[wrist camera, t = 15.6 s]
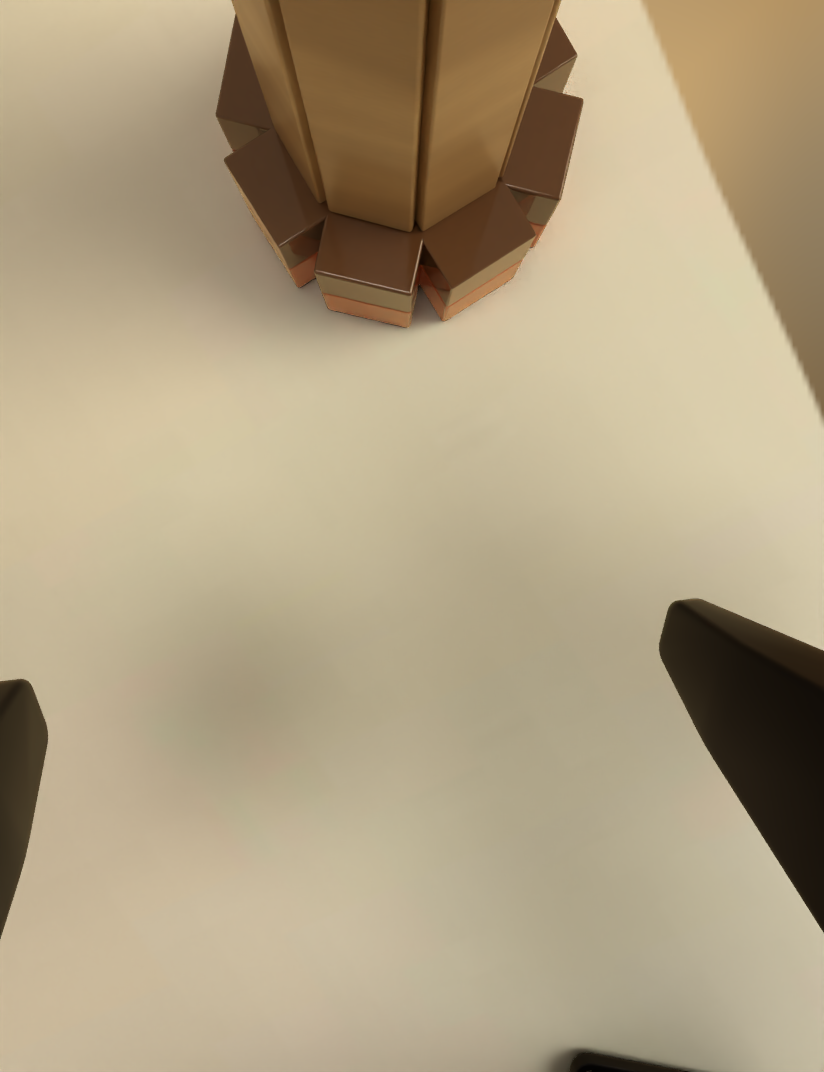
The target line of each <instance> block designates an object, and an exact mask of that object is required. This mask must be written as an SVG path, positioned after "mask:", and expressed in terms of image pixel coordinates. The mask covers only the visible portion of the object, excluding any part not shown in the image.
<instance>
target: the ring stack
mask: <svg viewBox="0 0 824 1072" xmlns="http://www.w3.org/2000/svg"><path fill="white" fill-rule="evenodd" d="M576 58H577V53H576V51H575V50H574V48H573V46H572V44H571V43H570V41H569V39H568V37H567V36H566V34H565V32H564V31H563V29H562V27H561V25H560V24H559V22H558V20H557V18H555V21H554V24H553V27H552V30H551V33H550V36H549V39H548V42H547V45H546V48H545V51H544V54H543V57H542V60H541V63H540V66H539V69H538V72H537V75H536V78H535V81H534V84H533V87H532V90H531V93H530V96H529V99H528V102H527V105H526V108H525V111H524V114H523V117H522V121H521V124H520V127H519V130H518V133H517V136H516V139H515V142H514V145H513V148H512V151H511V154H510V157H509V160H508V163H507V166H506V169H505V172H504V175H503V176H502V177H498V180H497V183H496V186H495V188H494V189H492V190H490V191H489V192H487V193H485V194H484V195H482V196H481V197H479V198H477V199H476V200H474V201H472V202H471V203H469V204H467V205H466V206H464V207H462V208H461V209H459V210H458V211H456V212H454V213H453V214H451V215H449V216H448V217H446V218H444V219H443V220H441V221H439V222H438V223H436V224H435V225H433V226H431V227H430V228H428V229H426V230H425V231H422V230H421V229H420V228H419V226H418V224H417V222H416V221H415V222H414V226H413V230H412V231H411V232H407V231H403V230H399V229H395V228H391V227H388V226H384V225H380V224H376V223H373V222H369V221H365V220H361V219H358V218H354V217H350V216H346V215H343V214H339V213H335V212H331V211H330V210H329V208H328V204H327V200H325V201H324V202H322V203H319V202H317V200H316V198H315V197H314V195H313V193H312V192H311V190H310V188H309V187H308V185H307V183H306V181H305V180H304V178H303V176H302V175H301V173H300V171H299V170H298V168H297V166H296V165H295V163H294V161H293V159H292V158H291V156H290V154H289V153H288V151H287V149H286V148H285V146H284V144H283V142H282V141H281V139H280V137H279V136H278V134H277V132H276V131H275V129H274V126H273V123H272V120H271V117H270V114H269V111H268V108H267V105H266V102H265V99H264V96H263V93H262V90H261V87H260V84H259V81H258V78H257V75H256V72H255V69H254V66H253V63H252V60H251V57H250V54H249V51H248V48H247V45H246V42H245V39H244V36H243V33H242V30H241V27H240V24H239V21H238V18H237V15H236V14H235V19H234V24H233V29H232V34H231V39H230V44H229V49H228V55H227V60H226V65H225V70H224V75H223V80H222V85H221V90H220V95H219V100H218V105H217V110H216V117H217V120H218V122H219V124H220V126H221V128H222V130H223V132H224V134H225V136H226V138H227V140H228V143H229V145H230V147H231V148H232V150H233V153H231V154H230V155H228V156H227V157H225V158H224V162H225V164H226V166H227V168H228V170H229V172H230V174H231V176H232V178H233V180H234V182H235V183H236V185H237V187H238V189H239V191H240V193H241V195H242V197H243V199H244V201H245V203H246V205H247V207H248V209H249V210H250V212H251V214H252V216H253V218H254V219H255V221H256V223H257V224H258V226H259V227H260V229H261V230H262V232H263V234H264V235H265V237H266V238H267V240H268V242H269V243H270V245H271V246H272V248H273V249H274V251H275V253H276V254H277V256H278V257H279V259H280V261H281V262H282V264H283V265H284V267H285V269H286V270H287V272H288V273H289V275H290V276H291V278H292V280H293V281H294V283H295V284H296V286H297V287H298V288H299V287H301V286H303V285H304V284H306V283H308V282H309V281H311V280H312V279H314V278H315V277H316V279H317V282H318V284H319V287H320V290H321V291H322V295H323V298H324V300H325V303H326V306H327V308H328V309H330V310H334V311H338V312H342V313H347V314H351V315H355V316H360V317H364V318H368V319H372V320H377V321H381V322H385V323H389V324H394V325H398V326H402V327H406V328H407V327H409V326H410V324H411V319H412V315H413V310H414V306H415V301H416V297H417V292H418V288H419V284H420V286H421V287H422V289H423V291H424V292H425V294H426V296H427V297H428V299H429V300H430V302H431V304H432V305H433V307H434V309H435V310H436V312H437V313H438V315H439V317H440V318H441V320H442V321H446V320H448V319H449V318H451V317H452V316H454V315H456V314H457V313H459V312H460V311H462V310H463V309H465V308H467V307H468V306H470V305H471V304H473V303H474V302H476V301H478V300H479V299H481V298H482V297H484V296H485V295H487V294H488V293H490V292H492V291H493V290H495V289H496V288H498V287H499V286H501V285H503V284H504V283H506V282H507V281H509V280H510V279H512V278H513V277H514V275H515V273H516V271H517V269H518V267H519V265H520V264H521V262H522V260H523V258H524V257H525V255H526V253H527V252H528V250H529V248H530V247H534V246H535V245H536V243H537V241H538V240H539V238H540V236H541V234H542V232H543V230H544V229H545V227H546V225H547V223H548V222H549V220H550V218H551V216H552V214H553V213H554V211H555V209H556V207H557V205H558V204H559V202H560V200H561V197H562V193H563V189H564V184H565V180H566V176H567V171H568V167H569V163H570V158H571V154H572V150H573V145H574V141H575V137H576V132H577V128H578V124H579V119H580V115H581V111H582V106H583V99H582V98H579V97H575V96H571V95H567V94H563V93H562V92H563V90H564V87H565V85H566V82H567V80H568V78H569V75H570V73H571V70H572V68H573V65H574V63H575V61H576Z"/></svg>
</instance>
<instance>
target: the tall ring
mask: <svg viewBox="0 0 824 1072" xmlns="http://www.w3.org/2000/svg"><path fill="white" fill-rule="evenodd" d="M232 3H233V6H234V9H235V12H236V15H237V18H238V21H239V24H240V27H241V30H242V33H243V36H244V39H245V42H246V45H247V48H248V51H249V54H250V57H251V60H252V63H253V66H254V69H255V72H256V75H257V78H258V81H259V84H260V87H261V90H262V93H263V96H264V99H265V102H266V105H267V108H268V111H269V114H270V117H271V120H272V123H273V126H274V129H275V131H276V132H277V134H278V136H279V137H280V139H281V141H282V142H283V144H284V146H285V148H286V149H287V151H288V153H289V154H290V156H291V158H292V159H293V161H294V163H295V165H296V166H297V168H298V170H299V171H300V173H301V175H302V176H303V178H304V180H305V181H306V183H307V185H308V187H309V188H310V190H311V192H312V193H313V195H314V197H315V198H316V200H317V202H319V203H322V202H324V201H325V200H327V204H328V208H329V210H330V211H331V212H335V213H339V214H343V215H346V216H350V217H354V218H358V219H361V220H365V221H369V222H373V223H376V224H380V225H384V226H388V227H391V228H395V229H399V230H403V231H407V232H411V231H412V230H413V226H414V222H415V221H416V222H417V224H418V226H419V228H420V229H421V230H422V231H425V230H426V229H428V228H430V227H431V226H433V225H435V224H436V223H438V222H439V221H441V220H443V219H444V218H446V217H448V216H449V215H451V214H453V213H454V212H456V211H458V210H459V209H461V208H462V207H464V206H466V205H467V204H469V203H471V202H472V201H474V200H476V199H477V198H479V197H481V196H482V195H484V194H485V193H487V192H489V191H490V190H492V189H494V188H495V186H496V183H497V180H498V177H502V176H503V175H504V172H505V169H506V166H507V163H508V160H509V157H510V154H511V151H512V148H513V145H514V142H515V139H516V136H517V133H518V130H519V127H520V124H521V121H522V117H523V114H524V111H525V108H526V105H527V102H528V99H529V96H530V93H531V90H532V87H533V84H534V81H535V78H536V75H537V72H538V69H539V66H540V63H541V60H542V57H543V54H544V51H545V48H546V45H547V42H548V39H549V36H550V33H551V30H552V27H553V24H554V21H555V18H556V15H557V12H558V9H559V6H560V3H561V0H232Z"/></svg>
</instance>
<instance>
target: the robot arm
mask: <svg viewBox="0 0 824 1072" xmlns="http://www.w3.org/2000/svg"><path fill="white" fill-rule="evenodd" d="M659 651H660V656H661V659H662V661H663V663H664V665H665V667H666V669H667V671H668V673H669V675H670V677H671V679H672V681H673V683H674V685H675V687H676V689H677V691H678V693H679V695H680V697H681V699H682V701H683V703H684V705H685V707H686V709H687V711H688V713H689V715H690V717H691V719H692V721H693V723H694V725H695V727H696V729H697V731H698V733H699V735H700V737H701V738H702V740H703V742H704V744H705V746H706V747H707V749H708V751H709V752H710V754H711V756H712V757H713V759H714V761H715V762H716V764H717V765H718V767H719V769H720V770H721V772H722V773H723V775H724V776H725V778H726V780H727V781H728V783H729V784H730V786H731V787H732V789H733V791H734V792H735V794H736V795H737V797H738V798H739V800H740V802H741V803H742V805H743V806H744V808H745V809H746V811H747V813H748V814H749V816H750V817H751V819H752V821H753V822H754V824H755V825H756V827H757V828H758V830H759V832H760V833H761V835H762V836H763V838H764V839H765V841H766V843H767V844H768V846H769V847H770V849H771V850H772V852H773V854H774V855H775V857H776V858H777V860H778V861H779V863H780V865H781V866H782V868H783V869H784V871H785V872H786V874H787V876H788V877H789V879H790V880H791V882H792V884H793V885H794V887H795V888H796V890H797V891H798V893H799V895H800V896H801V898H802V899H803V901H804V902H805V904H806V906H807V907H808V909H809V910H810V912H811V913H812V915H813V917H814V918H815V920H816V921H817V923H818V924H819V926H820V928H821V929H822V931H823V932H824V651H823V650H820V649H818V648H816V647H813V646H811V645H809V644H806V643H804V642H801V641H799V640H797V639H794V638H792V637H790V636H787V635H785V634H782V633H780V632H778V631H775V630H773V629H771V628H768V627H766V626H763V625H761V624H759V623H756V622H754V621H752V620H749V619H747V618H744V617H742V616H740V615H737V614H735V613H733V612H730V611H728V610H726V609H723V608H721V607H718V606H716V605H714V604H711V603H709V602H707V601H704V600H702V599H687V600H678V601H675V602H673V603H672V604H671V605H670V606H669V608H668V611H667V615H666V619H665V623H664V627H663V631H662V634H661V638H660V643H659ZM47 744H48V730H47V725H46V722H45V719H44V716H43V714H42V711H41V708H40V706H39V703H38V700H37V698H36V695H35V692H34V690H33V688H32V686H31V684H30V683H29V682H28V681H27V680H24V679H16V680H8V681H0V939H1V935H2V932H3V929H4V926H5V923H6V919H7V916H8V913H9V910H10V907H11V904H12V900H13V897H14V894H15V891H16V888H17V884H18V881H19V878H20V874H21V871H22V867H23V864H24V860H25V857H26V852H27V848H28V843H29V838H30V833H31V828H32V823H33V817H34V812H35V807H36V802H37V796H38V791H39V786H40V781H41V776H42V770H43V765H44V760H45V755H46V749H47ZM591 1070H592V1072H687V1071H682V1070H677V1069H671V1068H666V1067H661V1066H656V1065H651V1064H646V1063H640V1062H635V1061H630V1060H625V1059H620V1058H614V1057H609V1056H604V1055H599V1054H594V1053H582V1054H579V1055H577V1056H576V1057H575V1058H574V1060H573V1062H572V1064H571V1068H570V1072H586V1071H591Z"/></svg>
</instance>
